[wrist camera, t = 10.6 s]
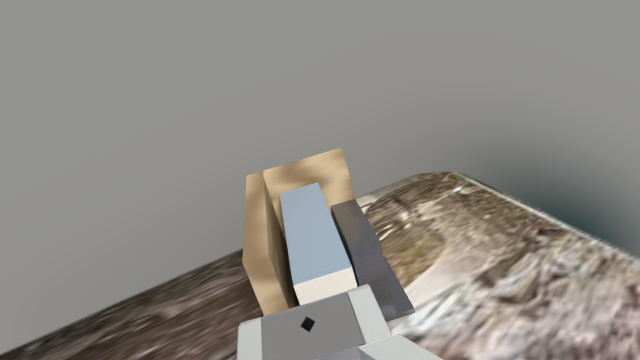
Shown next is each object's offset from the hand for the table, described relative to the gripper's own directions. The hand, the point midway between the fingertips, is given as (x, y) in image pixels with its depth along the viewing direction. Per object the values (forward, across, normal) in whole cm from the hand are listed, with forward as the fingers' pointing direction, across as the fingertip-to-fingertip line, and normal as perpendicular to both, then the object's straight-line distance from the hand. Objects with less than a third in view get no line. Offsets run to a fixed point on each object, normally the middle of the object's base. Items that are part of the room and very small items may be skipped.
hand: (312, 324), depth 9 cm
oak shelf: (+27, 0, +25) cm, 37 cm away
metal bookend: (+29, -5, +25) cm, 39 cm away
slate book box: (+25, -1, +25) cm, 35 cm away
